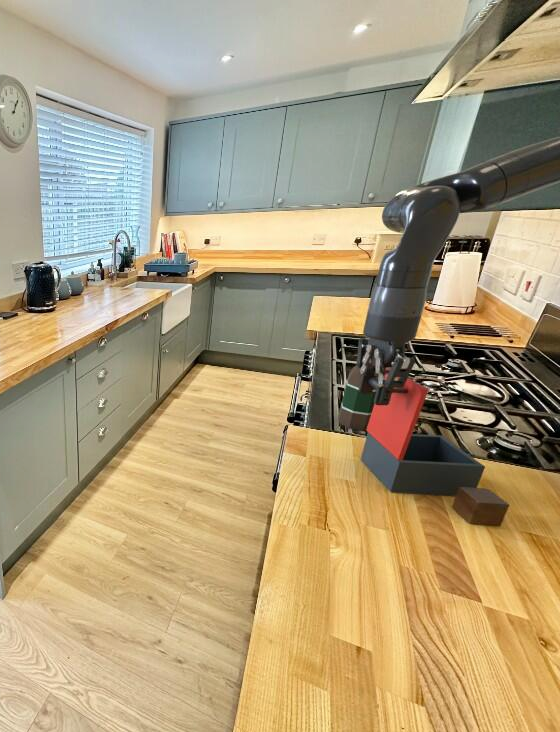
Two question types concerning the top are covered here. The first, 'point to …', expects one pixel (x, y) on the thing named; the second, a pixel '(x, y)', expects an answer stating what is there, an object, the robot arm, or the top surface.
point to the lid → (397, 416)
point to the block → (480, 506)
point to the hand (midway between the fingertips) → (372, 398)
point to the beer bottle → (356, 403)
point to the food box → (423, 466)
